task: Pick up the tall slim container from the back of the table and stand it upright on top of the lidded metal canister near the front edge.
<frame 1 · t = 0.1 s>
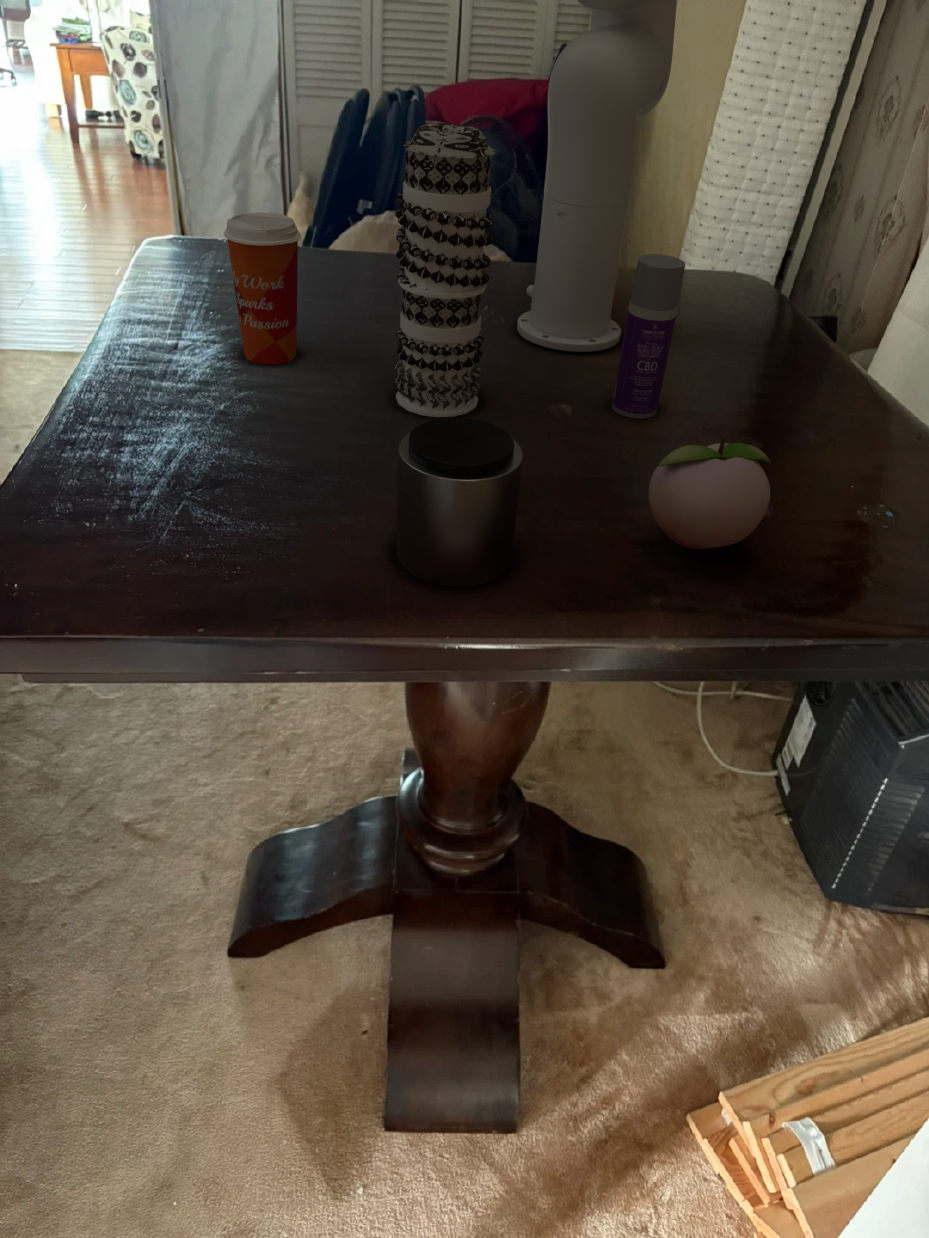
decorative fruit: (697, 552, 75), on the table
decorative candle: (436, 401, 95), on the table
paper cup: (271, 356, 101), on the table
lidded metal canister: (454, 554, 72), on the table
container: (633, 410, 96), on the table
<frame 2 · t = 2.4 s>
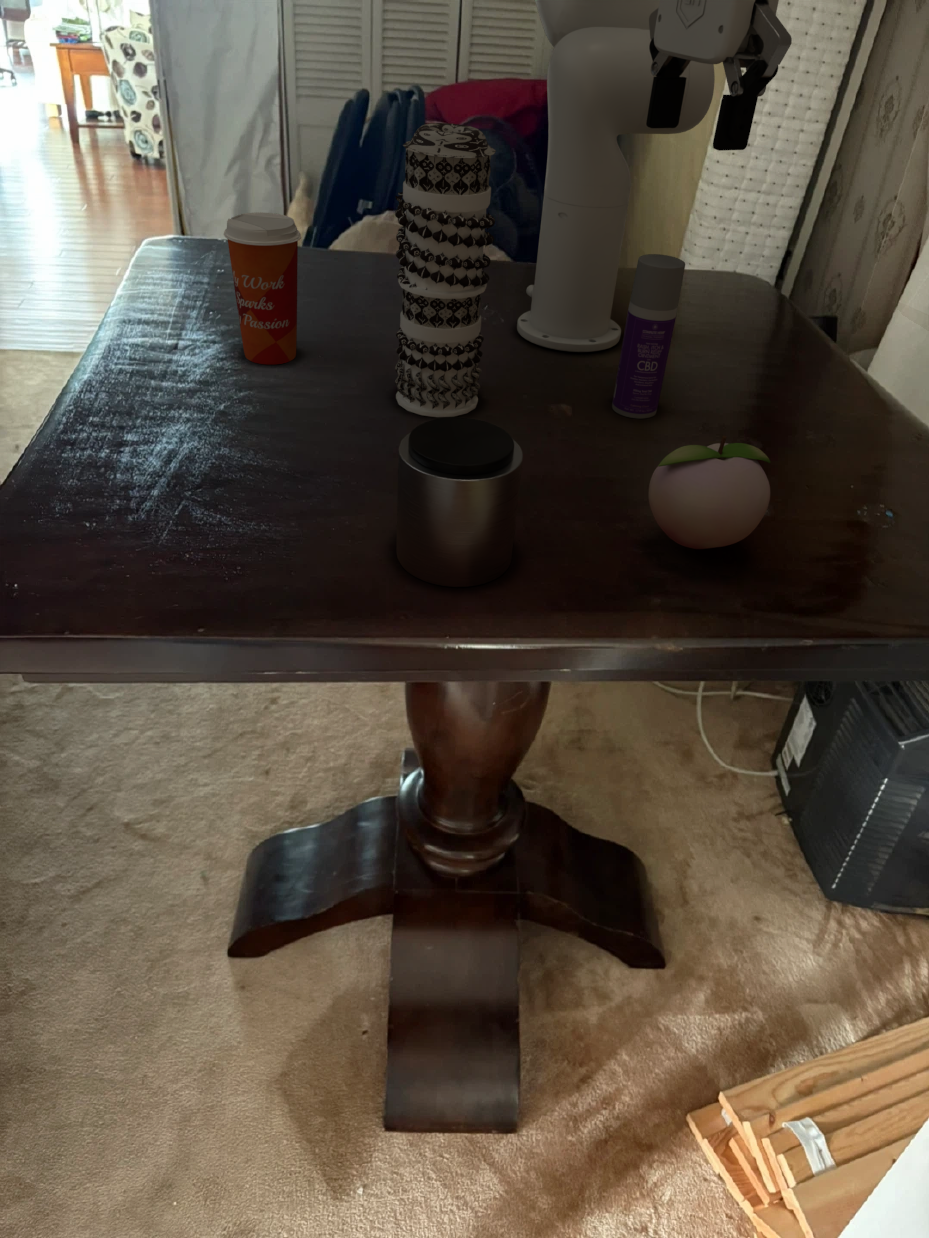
hand: (694, 138, 80), 26 cm above the table, tool pointing down, fingers open, 9 cm apart
nothing on the table moved.
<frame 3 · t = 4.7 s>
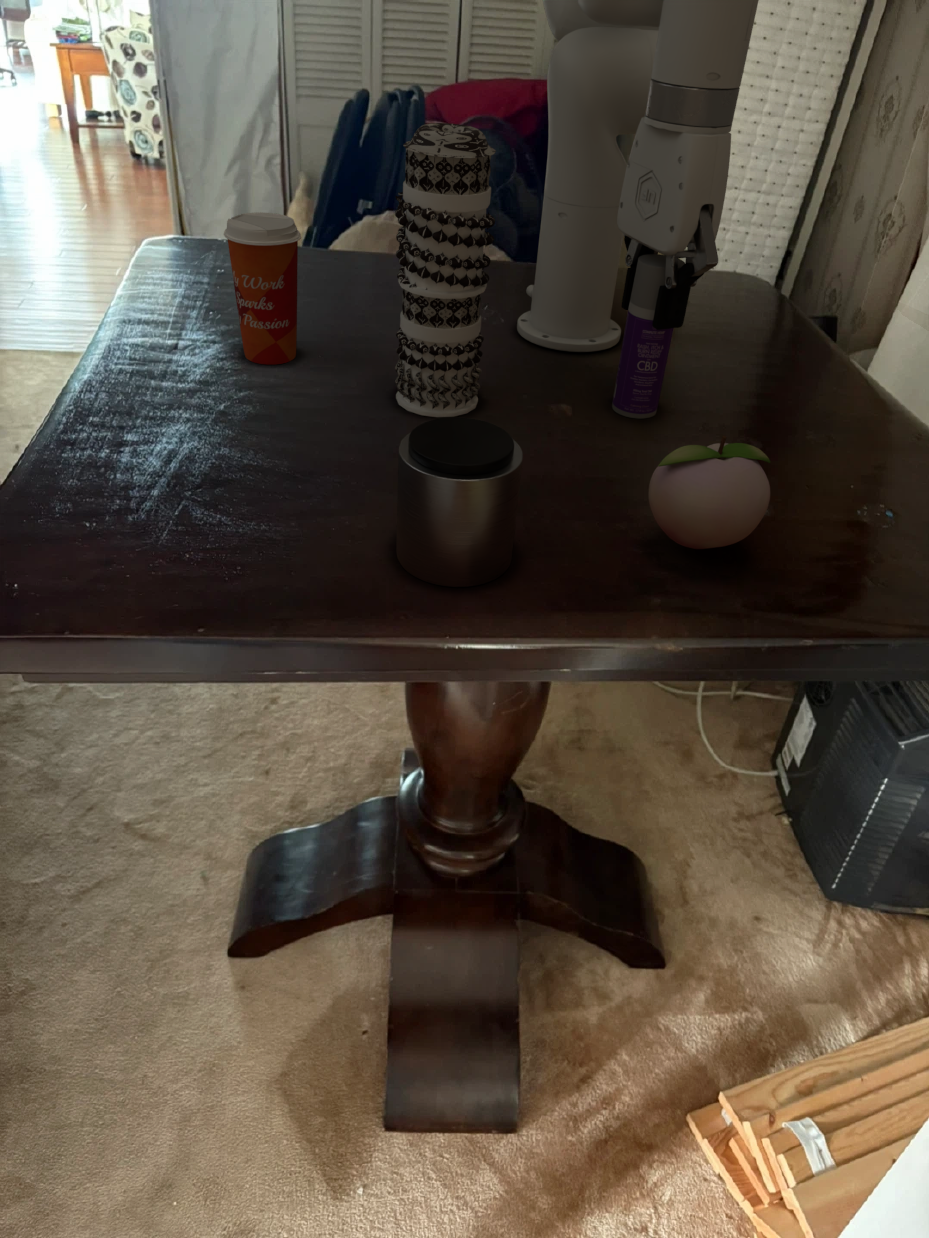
hand: (651, 315, 90), 10 cm above the table, tool pointing down, fingers closed on container, 4 cm apart
container: (633, 410, 96), on the table, touching gripper
everything else where it was.
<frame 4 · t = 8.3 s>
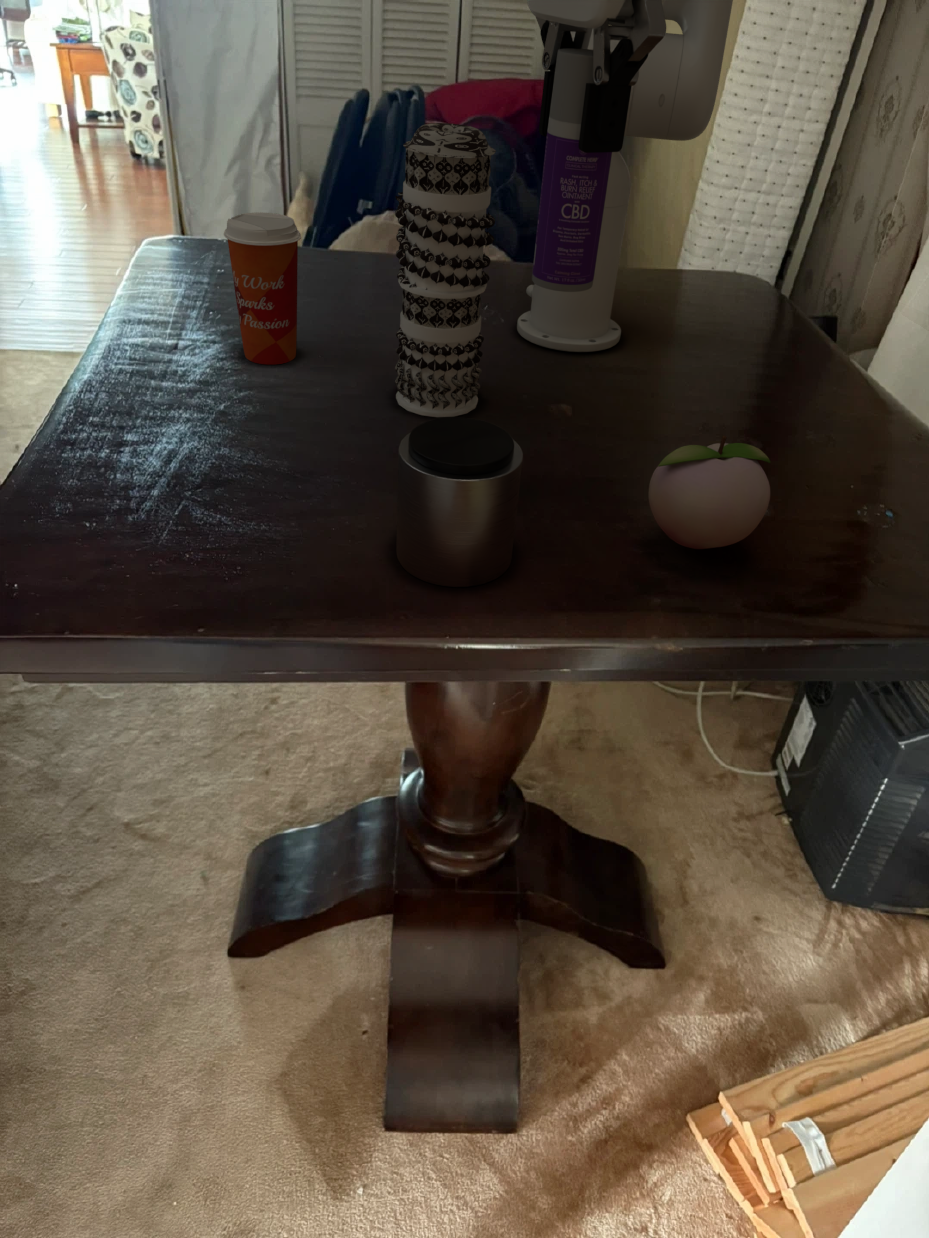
hand: (579, 140, 64), 28 cm above the table, tool pointing down, fingers closed on container, 4 cm apart
container: (561, 285, 70), point 18 cm above the table, touching gripper
everything else where it was.
when the fingers open (20 cm above the table, at t = 11.9 s): container stays where it is, resting on lidded metal canister.
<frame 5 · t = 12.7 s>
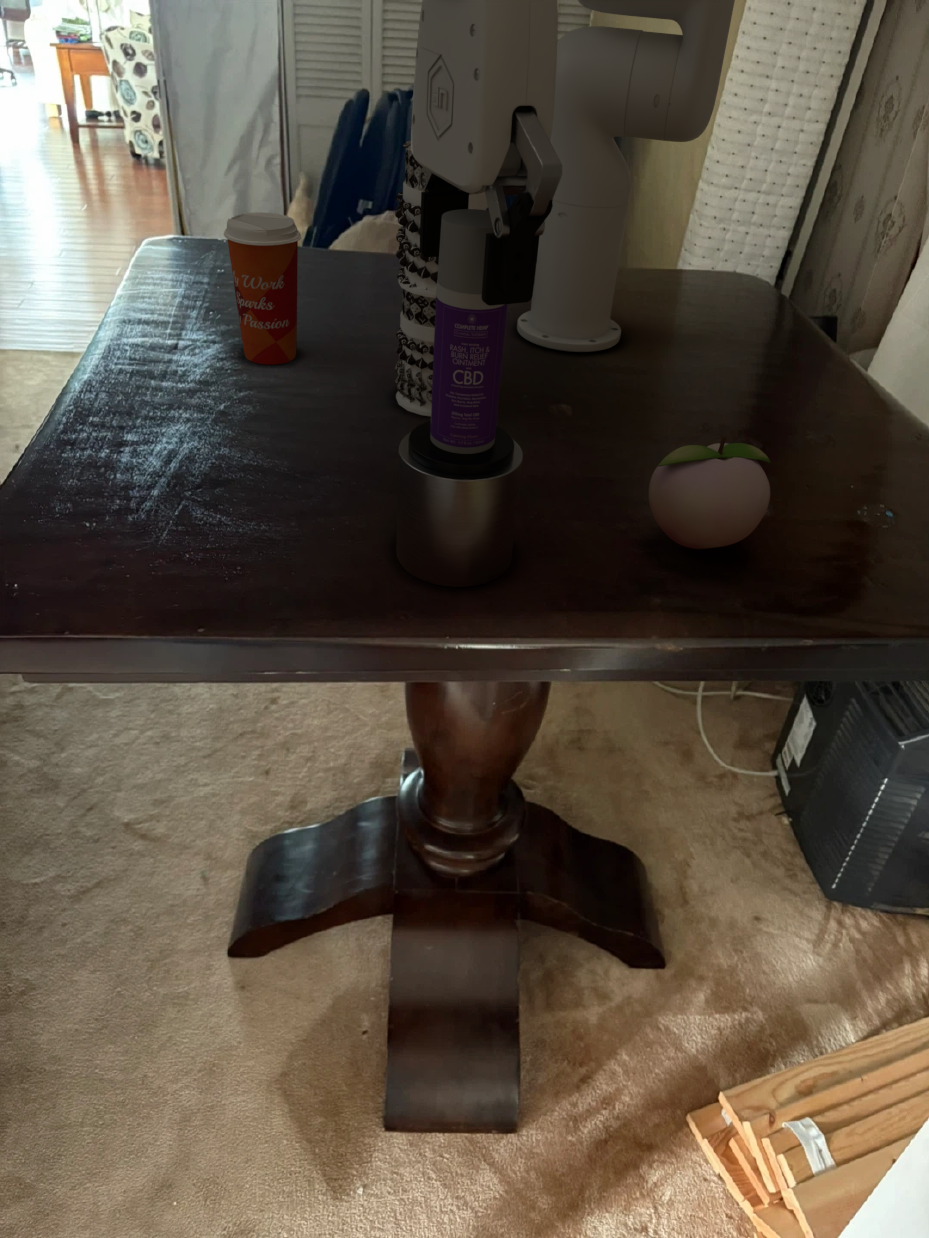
hand: (472, 277, 59), 21 cm above the table, tool pointing down, fingers open, 9 cm apart
lidded metal canister: (454, 554, 72), on the table, touching container
container: (462, 441, 66), point 10 cm above the table, touching lidded metal canister
everything else where it was.
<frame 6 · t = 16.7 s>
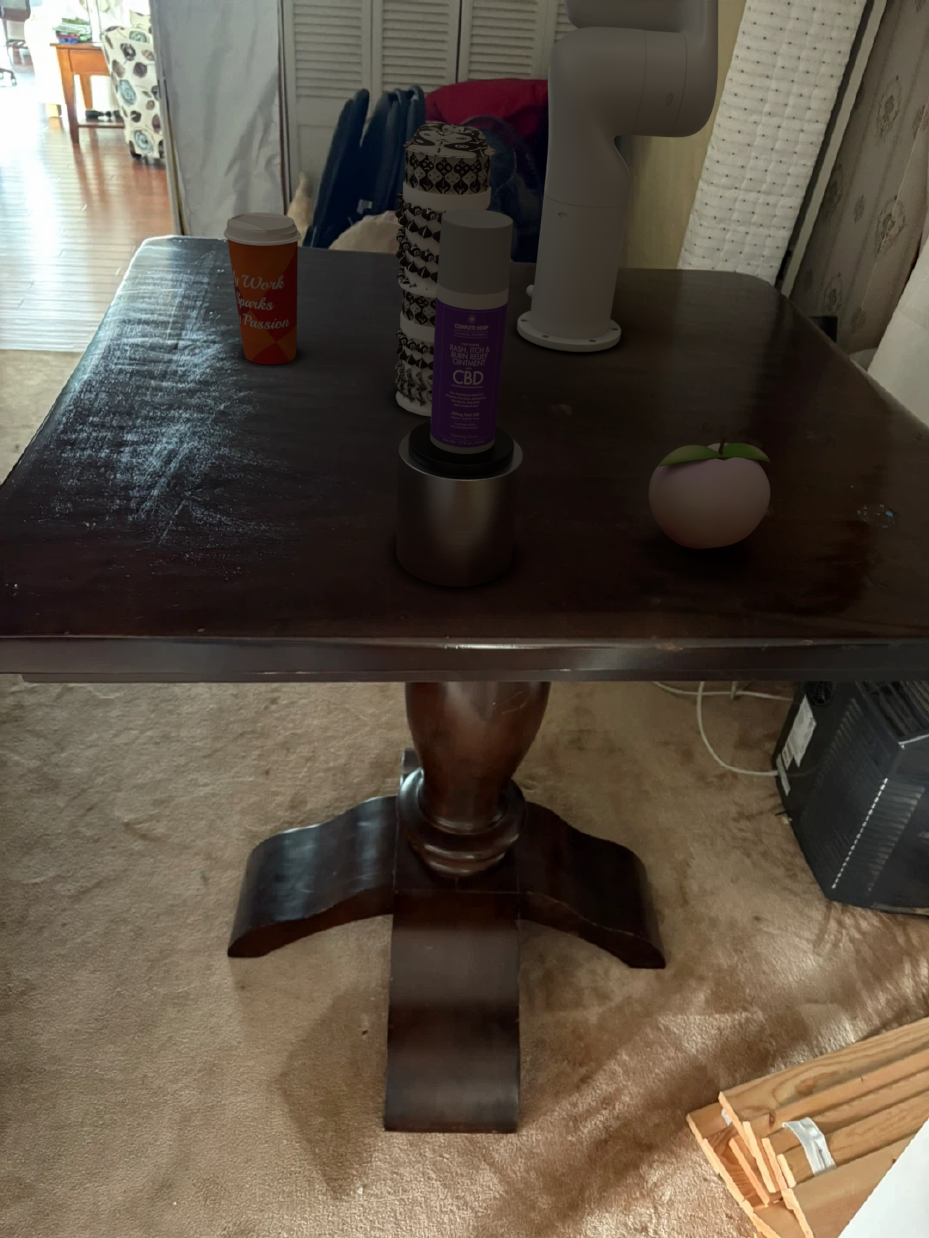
nothing on the table moved.
at the end: container 0.1 cm off-centre on the lidded metal canister, point 9.6 cm above the lidded metal canister's base; container tilted 0°; the gripper is holding nothing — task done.
